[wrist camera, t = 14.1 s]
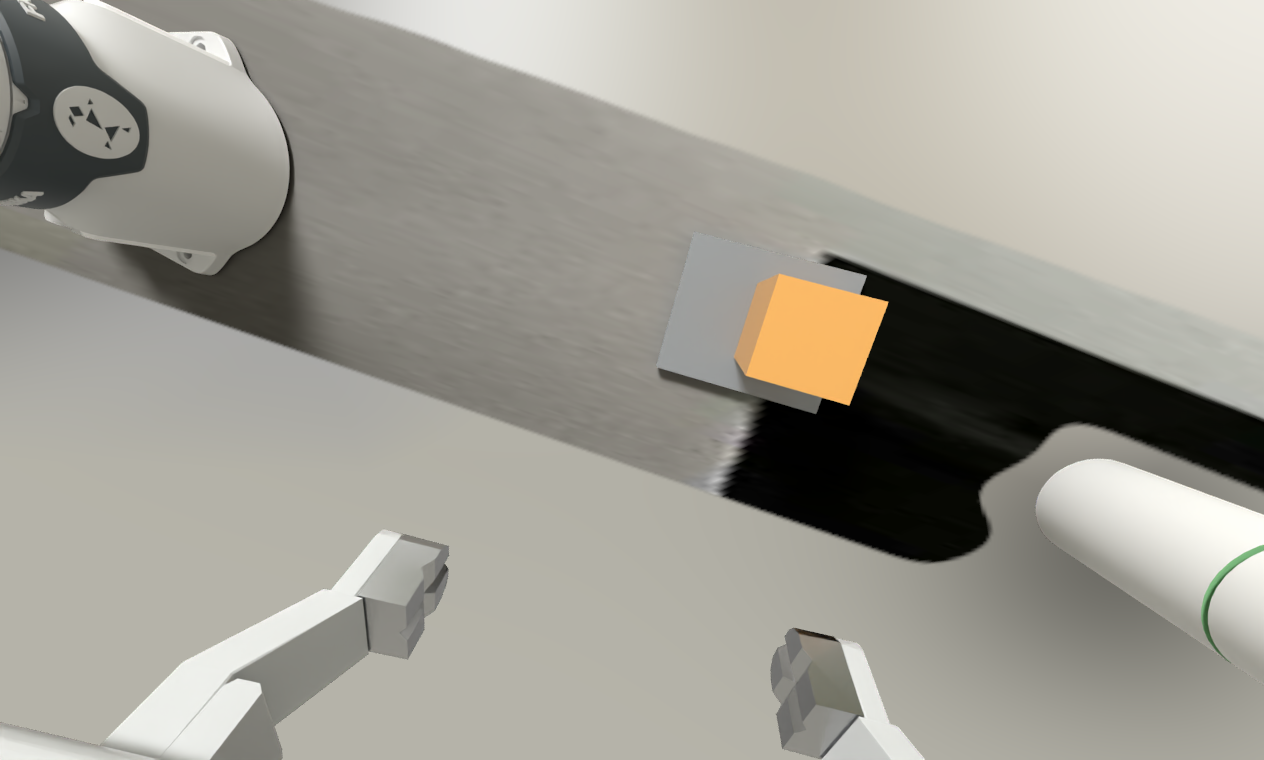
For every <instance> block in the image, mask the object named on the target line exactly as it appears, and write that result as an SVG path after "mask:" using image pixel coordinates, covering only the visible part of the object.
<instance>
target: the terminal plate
mask: <svg viewBox="0 0 1264 760" xmlns="http://www.w3.org/2000/svg"><path fill="white" fill-rule="evenodd" d="M777 274H783V275H786V276H790V277H794V278H798V279H802V280H806V281H809V282H813V283H817V284H821V285H825V286H828V287H832V288H836V289H840V290H844V291H848V292H851V293H855V294H859V295H860V293H861V290H862V287H863V285H864V282H865V279H866V275H862V274H858V273H854V272H850V271H846V270H842V269H838V268H834V267H831V266H827V265H823V264H819V263H815V262H811V261H807V260H803V259H799V258H796V257H792V256H788V255H784V254H780V253H776V252H772V251H768V250H764V249H761V248H757V247H753V246H749V245H745V244H741V243H737V242H733V241H730V240H726V239H722V238H718V237H714V236H710V235H706V234H702V233H698V232H695V231H694V234H693V238H692V241H691V245H690V248H689V252H688V255H687V259H686V262H685V266H684V269H683V273H682V276H681V280H680V283H679V287H678V291H677V294H676V298H675V301H674V305H673V308H672V312H671V315H670V319H669V322H668V326H667V329H666V333H665V336H664V340H663V343H662V347H661V350H660V354H659V357H658V361H657V364H656V367H658V368H661V369H664V370H668V371H671V372H675V373H678V374H681V375H685V376H688V377H692V378H695V379H698V380H702V381H705V382H709V383H712V384H715V385H719V386H722V387H726V388H729V389H733V390H736V391H739V392H743V393H746V394H750V395H753V396H756V397H760V398H763V399H767V400H770V401H773V402H777V403H780V404H784V405H787V406H790V407H794V408H797V409H801V410H804V411H808V412H811V413H814V414H816V413H817V410H818V407H819V405H820V402H821V399H822V397H818V396H815V395H811V394H808V393H804V392H801V391H797V390H794V389H790V388H787V387H783V386H780V385H776V384H773V383H769V382H766V381H763V380H759V379H756V378H752V377H749V376H746V375H745V374H744V372H743V371H742V369H741V367H740V366H739V364H738V363H737V361H736V360H735V358H734V355H735V352H736V349H737V346H738V343H739V340H740V336H741V333H742V330H743V327H744V324H745V321H746V318H747V314H748V311H749V308H750V305H751V302H752V299H753V296H754V292H755V289H756V286H757V283H759V282H762V281H764V280H766V279H768V278H771V277H773V276H775V275H777Z"/></svg>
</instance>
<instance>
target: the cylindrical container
mask: <svg viewBox="0 0 1264 760" xmlns="http://www.w3.org/2000/svg"><path fill="white" fill-rule="evenodd" d="M1035 509H1036V518H1037V523H1038V525H1039V527H1040V529H1041V531H1042V533H1043V534H1044V535H1045V536H1046V538H1047V539H1048V540H1049V541H1050V542H1052V543H1053V544H1054V545H1056V546H1057V547H1058V548H1060V549H1062V550H1063V551H1064V552H1066V553H1068V554H1069V555H1070V556H1072V557H1073V558H1075V559H1077V560H1078V561H1079V562H1081V563H1083V564H1084V565H1085V566H1087V567H1088V568H1090V569H1092V570H1093V571H1094V572H1096V573H1097V574H1099V575H1100V576H1102V577H1103V578H1105V579H1106V580H1108V581H1109V582H1111V583H1112V584H1114V585H1115V586H1117V587H1118V588H1120V589H1121V590H1123V591H1124V592H1126V593H1127V594H1129V595H1130V596H1131V597H1133V598H1134V599H1136V600H1137V601H1139V602H1140V603H1142V604H1143V605H1145V606H1146V607H1148V608H1149V609H1151V610H1152V611H1154V612H1155V613H1157V614H1158V615H1160V616H1161V617H1163V618H1164V619H1166V620H1167V621H1169V622H1170V623H1172V624H1173V625H1175V626H1176V627H1178V628H1179V629H1181V630H1182V631H1184V632H1185V633H1187V634H1188V635H1190V636H1191V637H1193V638H1194V639H1195V640H1197V641H1198V642H1200V643H1201V644H1203V645H1204V646H1206V647H1208V648H1209V649H1210V650H1212V651H1213V652H1215V653H1216V654H1218V655H1219V656H1221V657H1222V658H1224V659H1225V660H1227V661H1228V662H1230V663H1232V664H1233V665H1234V666H1236V667H1237V668H1239V669H1240V670H1242V671H1243V672H1245V673H1246V674H1248V675H1249V676H1251V677H1252V678H1254V679H1255V680H1257V681H1258V682H1260V683H1261V684H1263V685H1264V515H1263V514H1260V513H1257V512H1254V511H1252V510H1249V509H1247V508H1244V507H1241V506H1238V505H1236V504H1233V503H1230V502H1228V501H1225V500H1222V499H1219V498H1217V497H1214V496H1211V495H1208V494H1206V493H1203V492H1200V491H1198V490H1195V489H1192V488H1190V487H1187V486H1184V485H1181V484H1178V483H1176V482H1173V481H1171V480H1168V479H1165V478H1162V477H1160V476H1157V475H1154V474H1151V473H1149V472H1146V471H1143V470H1141V469H1138V468H1135V467H1132V466H1130V465H1127V464H1124V463H1122V462H1118V461H1114V460H1109V459H1089V460H1084V461H1079V462H1076V463H1074V464H1071V465H1068V466H1066V467H1065V468H1063V469H1061V470H1060V471H1058V472H1056V473H1055V474H1054V475H1053V476H1052V477H1051V478H1050V479H1049V480H1048V481H1047V482H1046V483H1045V485H1044V486H1043V488H1042V489H1041V491H1040V493H1039V496H1038V498H1037V502H1036V507H1035Z"/></svg>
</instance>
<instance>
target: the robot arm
mask: <svg viewBox="0 0 1264 760" xmlns="http://www.w3.org/2000/svg"><path fill="white" fill-rule="evenodd" d="M289 170H290V168H289V154H288V148H287V144H286V139H285V136H284V133H283V130H282V127H281V124H280V122H279V120H278V118H277V116H276V114H275V112H274V110H273V108H272V107H271V105H270V104H269V102H268V101H267V99H266V98H265V97H264V96H263V94H262V93H261V92H260V91H259V90H258V89H257V87H256V86H255V85H254V84H253V83H252V81H251V80H250V79H249V77H248V75H247V74H246V71H245V68H244V66H243V63H242V60H241V58H240V55H239V53H238V51H237V49H236V47H235V45H234V44H233V43H232V41H231V40H229V39H228V38H226V37H223V36H221V35H219V34H217V33H214V32H165V31H163V30H161V29H159V28H157V27H155V26H153V25H150V24H148V23H146V22H144V21H142V20H140V19H138V18H136V17H134V16H131V15H129V14H127V13H125V12H123V11H121V10H119V9H117V8H114V7H112V6H110V5H108V4H106V3H103V2H101V1H98V0H84V1H79V0H64V1H60V2H57V3H54V4H50V5H49V4H47V3H46V2H44V1H42V0H0V205H2V206H12V205H13V206H19V207H26V208H33V209H45V211H44V217H45V219H46V220H48V221H50V222H52V223H55V224H58V225H62V226H66V227H70V228H71V231H72V232H74V233H77V234H80V235H83V236H84V237H87V238H91V239H95V240H101V241H108V242H115V243H122V244H129V245H136V246H143V247H149V248H151V249H153V250H154V251H156V252H158V253H160V254H162V255H163V256H165V257H167V258H169V259H171V260H173V261H174V262H176V263H178V264H180V265H182V266H184V267H185V268H187V269H189V270H191V271H193V272H195V273H199V274H205V275H214V274H216V273H217V272H218V271H219V270H220V269H221V268H222V267H223V266H224V265H225V263H226V262H227V261H228V259H229V258H230V257H231V255H233V254H234V253H236V252H237V251H239V250H241V249H244V248H246V247H248V246H250V245H252V244H254V243H255V242H257V241H258V240H260V239H261V238H262V237H263V236H264V235H265V234H266V233H267V232H268V231H269V230H270V229H271V228H272V226H273V225H274V224H275V222H276V220H277V219H278V217H279V215H280V213H281V211H282V208H283V206H284V203H285V199H286V196H287V191H288V185H289ZM448 556H449V546H447V545H443V544H439V543H435V542H432V541H427V540H424V539H420V538H416V537H413V536H409V535H406V534H402V533H397V532H393V531H389V530H385V529H383V530H382V531H380V532H379V533H378V534H376V535H375V536H374V538H373V539H372V540H371V541H370V542H369V544H368V545H367V546H366V547H365V549H364V550H363V551H362V552H361V553H360V555H359V556H358V557H357V558H356V560H355V561H354V562H353V563H352V565H351V566H350V567H349V568H348V569H347V571H346V572H345V573H344V574H343V576H342V577H341V578H340V579H339V580H338V581H337V583H336V584H335V585H334V586H333V588H332V589H331V590H328V589H322V590H320V591H318V592H316V593H315V594H312V595H311V596H309V597H307V598H305V599H303V600H301V601H299V602H297V603H295V604H293V605H292V606H289V607H288V608H286V609H284V610H282V611H280V612H278V613H276V614H274V615H272V616H271V617H268V618H267V619H265V620H263V621H261V622H259V623H257V624H255V625H253V626H251V627H249V628H247V629H245V630H243V631H242V632H240V633H238V634H236V635H234V636H232V637H230V638H228V639H226V640H224V641H222V642H221V643H218V644H216V645H215V646H213V647H211V648H209V649H207V650H205V651H203V652H201V653H199V654H197V655H195V656H193V657H192V658H190V659H188V660H186V661H184V662H182V663H181V664H180V665H179V666H178V667H177V668H176V669H175V670H174V671H173V672H172V673H171V674H170V675H169V676H168V677H167V678H166V679H165V681H163V682H162V683H161V684H160V685H159V686H158V687H157V688H156V689H155V690H154V691H153V692H152V693H151V694H150V695H149V696H148V698H146V699H145V700H144V701H143V702H142V703H141V704H140V705H139V706H138V707H137V708H136V709H135V710H134V711H133V712H132V713H131V714H130V716H129V717H127V719H125V721H123V722H122V724H121V725H119V726H118V727H117V728H116V730H114V731H113V732H112V734H111V735H109V737H107V739H105V740H104V741H103V743H102V744H101V745H96V744H91V743H87V742H83V741H79V740H74V739H70V738H66V737H62V736H58V735H53V734H49V733H45V732H41V731H36V730H32V729H28V728H23V727H19V726H15V725H11V724H6V723H2V722H0V760H281V759H282V748H281V745H280V742H279V739H278V736H277V733H276V730H275V727H274V726H275V725H276V724H277V723H279V722H280V721H281V720H283V719H284V718H285V717H287V716H288V715H289V714H291V713H292V712H293V711H295V710H296V709H297V708H298V707H300V706H301V705H302V704H304V703H305V702H306V701H308V700H309V699H310V698H312V697H313V696H314V695H316V694H317V693H318V692H319V691H321V690H322V689H323V688H325V687H326V686H327V685H329V684H330V683H331V682H333V681H334V680H335V679H336V678H338V677H339V676H340V675H342V674H343V673H344V672H345V671H347V670H348V669H350V668H351V667H352V666H353V665H355V664H356V663H357V662H359V661H360V660H361V659H363V658H364V657H365V656H366V655H368V651H370V652H375V653H379V654H384V655H389V656H394V657H399V658H403V659H408V658H409V656H410V654H411V653H412V651H413V649H414V647H415V646H416V644H417V642H418V640H419V638H420V637H421V635H422V633H423V631H424V618H425V617H426V616H428V615H429V614H431V613H432V612H434V611H435V609H436V607H437V605H438V604H439V602H440V600H441V598H442V595H443V592H444V589H445V587H446V584H447V579H448V568H447V566H446V565H445V564H444V563H445V561H446V560H447V558H448ZM785 640H786V644H785V645H783V646H781V647H778V648H777V650H776V652H775V654H774V655H773V659H772V664H771V683H772V690H773V693H774V695H775V696H776V697H777V699H778V700H779V702H780V703H781V706H780V708H779V710H778V712H777V714H776V715H777V721H778V726H779V732H780V738H781V744H782V749H785V750H789V751H792V752H796V753H800V754H804V755H807V756H811V757H814V758H818V759H822V760H925V759H924V758H923V757H922V755H921V754H920V753H919V752H918V750H917V749H916V748H915V747H914V746H913V745H912V743H911V742H910V741H909V740H908V738H907V737H906V736H905V735H904V734H903V732H902V731H901V730H900V729H899V728H898V726H896V725H892V724H890V722H889V719H888V717H887V714H886V711H885V708H884V706H883V703H882V700H881V698H880V695H879V692H878V690H877V687H876V684H875V681H874V679H873V676H872V673H871V671H870V668H869V665H868V663H867V660H866V657H865V654H864V652H863V650H862V648H861V646H860V645H859V644H858V643H855V642H852V641H847V640H843V639H838V638H834V637H832V636H828V635H824V634H819V633H815V632H810V631H805V630H801V629H797V628H792V629H790V630H789V631H788V632H787V634H786V635H785Z"/></svg>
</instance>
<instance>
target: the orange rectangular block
mask: <svg viewBox="0 0 1264 760" xmlns="http://www.w3.org/2000/svg"><path fill="white" fill-rule="evenodd" d="M887 305H888V302H886V301H882V300H878V299H874V298H871V297H867V296H863V295H859V294H855V293H851V292H848V291H844V290H840V289H836V288H832V287H828V286H825V285H821V284H817V283H813V282H809V281H806V280H802V279H798V278H794V277H790V276H786V275H783V274H777V275H775V276H773V277H771V278H768V279H766V280H764V281H762V282H759V283H757V286H756V289H755V292H754V296H753V299H752V302H751V305H750V308H749V311H748V314H747V318H746V321H745V324H744V327H743V330H742V333H741V336H740V340H739V343H738V346H737V349H736V352H735V355H734V358H735V360H736V361H737V363H738V364H739V366H740V367H741V369H742V371H743V372H744V374H745V375H746V376H749V377H752V378H756V379H759V380H763V381H766V382H769V383H773V384H776V385H780V386H783V387H787V388H790V389H794V390H797V391H801V392H804V393H808V394H811V395H815V396H818V397H822V398H825V399H828V400H832V401H835V402H839V403H842V404H846V405H850V402H851V399H852V397H853V394H854V391H855V389H856V386H857V383H858V381H859V378H860V376H861V373H862V370H863V368H864V365H865V362H866V360H867V357H868V355H869V352H870V349H871V347H872V344H873V341H874V339H875V336H876V334H877V331H878V328H879V326H880V323H881V320H882V318H883V315H884V312H885V310H886V307H887Z"/></svg>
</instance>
